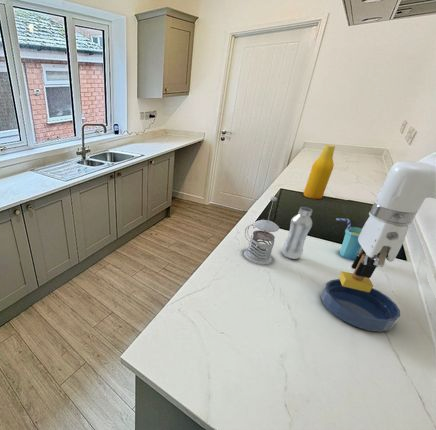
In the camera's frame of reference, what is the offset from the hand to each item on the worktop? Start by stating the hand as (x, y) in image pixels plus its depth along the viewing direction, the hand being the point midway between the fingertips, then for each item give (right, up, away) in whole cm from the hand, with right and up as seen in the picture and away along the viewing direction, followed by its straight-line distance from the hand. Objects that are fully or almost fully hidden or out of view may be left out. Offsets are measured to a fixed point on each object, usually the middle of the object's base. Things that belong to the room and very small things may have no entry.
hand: (360, 272), depth 72 cm
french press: (-13, 0, +30) cm, 32 cm away
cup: (+21, 0, +29) cm, 36 cm away
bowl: (+3, -12, +5) cm, 13 cm away
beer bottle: (+47, +27, +80) cm, 96 cm away
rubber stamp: (0, -4, +2) cm, 5 cm away
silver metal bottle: (0, 0, +29) cm, 29 cm away
